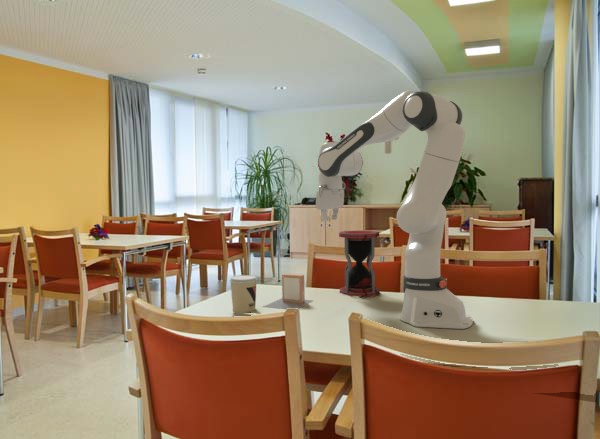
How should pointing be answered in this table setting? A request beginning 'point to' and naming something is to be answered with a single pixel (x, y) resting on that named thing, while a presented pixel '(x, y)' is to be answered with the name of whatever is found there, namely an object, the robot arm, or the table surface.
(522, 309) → the table surface
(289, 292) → the picture frame
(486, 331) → the table surface
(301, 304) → the slate board
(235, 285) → the coffee cup
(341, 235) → the hourglass
